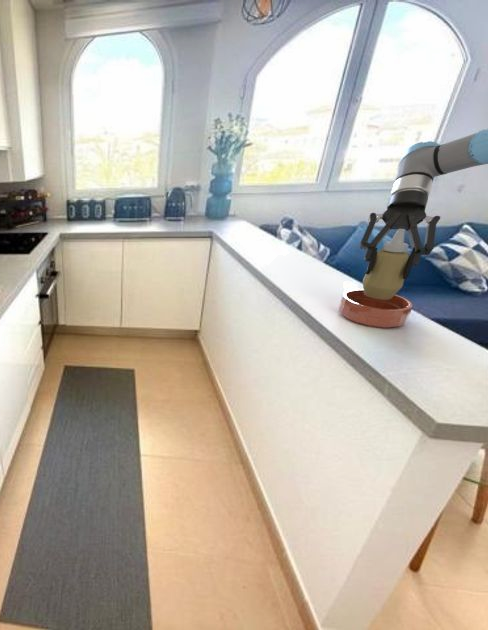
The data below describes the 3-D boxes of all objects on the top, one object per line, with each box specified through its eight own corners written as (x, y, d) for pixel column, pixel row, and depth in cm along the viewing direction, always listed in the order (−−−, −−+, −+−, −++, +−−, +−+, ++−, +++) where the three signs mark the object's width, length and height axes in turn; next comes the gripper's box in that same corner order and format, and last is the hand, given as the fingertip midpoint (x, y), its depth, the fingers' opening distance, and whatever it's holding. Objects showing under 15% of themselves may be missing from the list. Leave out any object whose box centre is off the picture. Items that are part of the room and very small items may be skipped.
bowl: (418, 323, 91) (426, 304, 88) (379, 334, 87) (386, 314, 85) (362, 302, 103) (368, 285, 101) (325, 311, 100) (330, 294, 97)
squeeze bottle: (369, 288, 97) (391, 224, 89) (404, 297, 91) (431, 229, 83) (351, 294, 95) (373, 228, 87) (386, 304, 88) (412, 234, 80)
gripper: (455, 208, 88) (435, 287, 84) (359, 204, 99) (337, 274, 96) (468, 189, 82) (446, 273, 78) (364, 187, 93) (341, 261, 90)
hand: (386, 274), depth 87 cm, fingers closed on squeeze bottle, 6 cm apart
